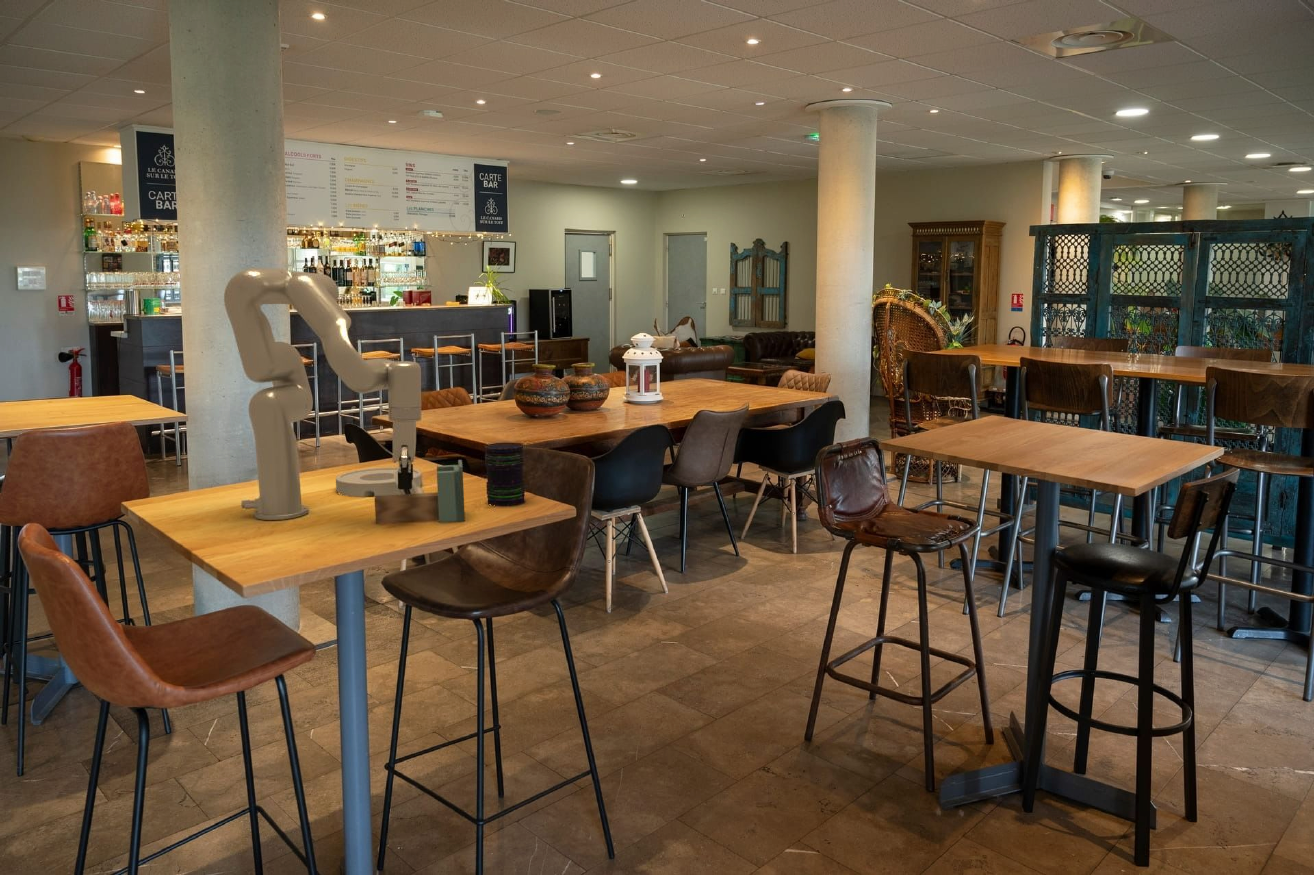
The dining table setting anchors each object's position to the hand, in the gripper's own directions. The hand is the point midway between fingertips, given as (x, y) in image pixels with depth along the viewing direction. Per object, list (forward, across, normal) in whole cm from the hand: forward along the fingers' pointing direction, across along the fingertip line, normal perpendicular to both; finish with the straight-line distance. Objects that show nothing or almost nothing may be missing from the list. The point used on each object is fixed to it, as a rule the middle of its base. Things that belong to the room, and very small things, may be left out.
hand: (405, 484), depth 233 cm
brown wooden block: (+9, +1, +1) cm, 9 cm away
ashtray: (+10, -40, -8) cm, 42 cm away
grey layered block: (+9, -21, +1) cm, 23 cm away
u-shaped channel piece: (+8, +1, +11) cm, 14 cm away
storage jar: (+8, -12, +25) cm, 29 cm away
